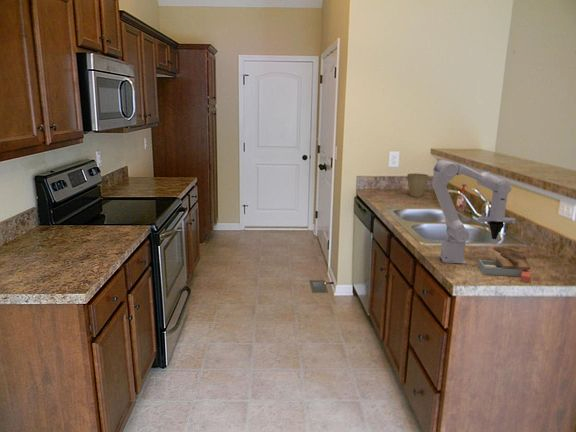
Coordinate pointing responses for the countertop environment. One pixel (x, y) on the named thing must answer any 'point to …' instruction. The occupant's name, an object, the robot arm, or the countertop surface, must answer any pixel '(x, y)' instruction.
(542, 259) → the countertop surface
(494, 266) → the gray box
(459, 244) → the robot arm
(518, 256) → the wooden fragment
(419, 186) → the plant pot
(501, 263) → the lid
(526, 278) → the red block
